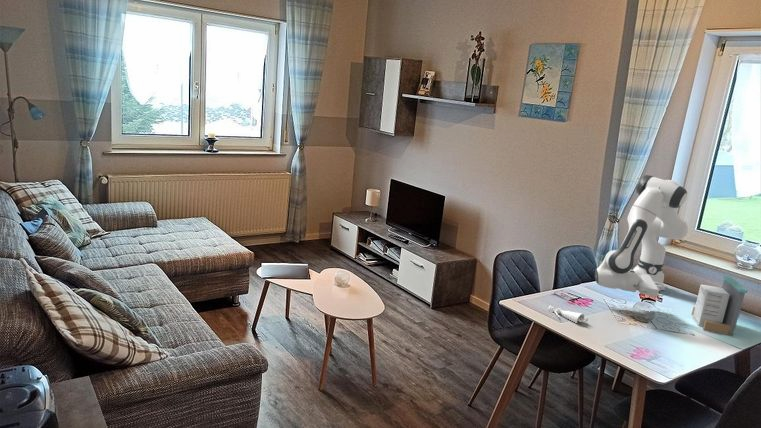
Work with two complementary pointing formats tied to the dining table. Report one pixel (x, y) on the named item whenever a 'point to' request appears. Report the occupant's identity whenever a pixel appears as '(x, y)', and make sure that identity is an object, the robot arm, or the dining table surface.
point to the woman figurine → (569, 314)
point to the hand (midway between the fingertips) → (664, 287)
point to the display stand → (728, 308)
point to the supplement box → (710, 305)
